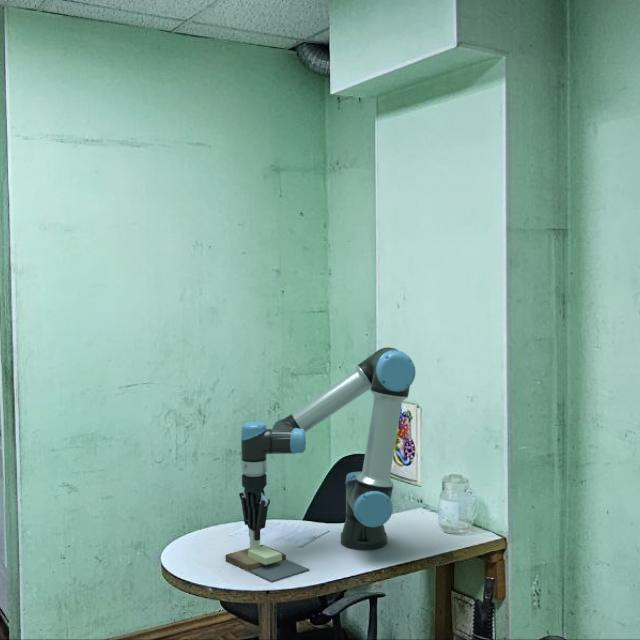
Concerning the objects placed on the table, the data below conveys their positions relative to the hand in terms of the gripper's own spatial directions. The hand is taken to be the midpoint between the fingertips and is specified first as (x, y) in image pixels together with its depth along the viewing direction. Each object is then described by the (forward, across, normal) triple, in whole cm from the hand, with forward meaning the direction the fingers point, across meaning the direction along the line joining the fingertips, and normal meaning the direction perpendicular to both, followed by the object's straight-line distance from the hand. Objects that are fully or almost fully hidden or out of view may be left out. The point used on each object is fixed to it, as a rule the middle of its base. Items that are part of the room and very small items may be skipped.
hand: (254, 549), depth 255 cm
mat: (+3, +12, 0) cm, 13 cm away
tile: (+1, +5, 0) cm, 5 cm away
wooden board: (+3, 0, 0) cm, 3 cm away
